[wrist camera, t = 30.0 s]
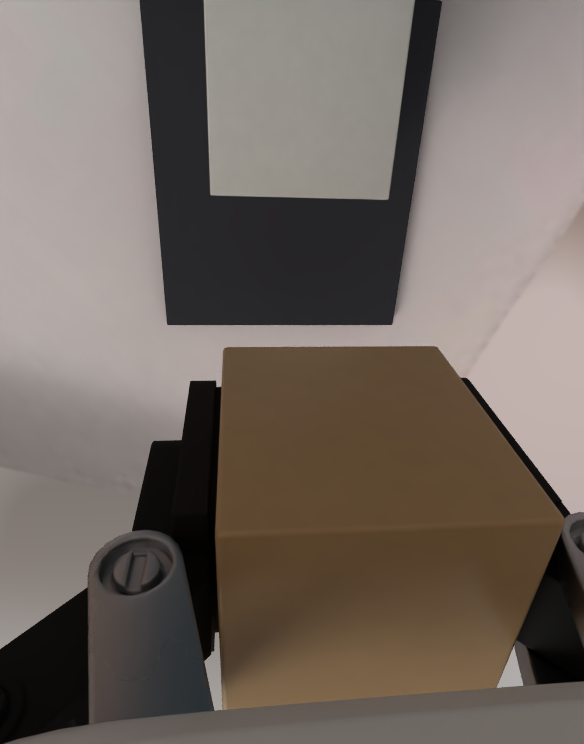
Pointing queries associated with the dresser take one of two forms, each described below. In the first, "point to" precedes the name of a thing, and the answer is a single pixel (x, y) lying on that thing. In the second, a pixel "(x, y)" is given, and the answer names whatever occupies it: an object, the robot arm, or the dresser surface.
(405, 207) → the mat
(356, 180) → the cream box
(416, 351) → the kraft box
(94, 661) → the robot arm
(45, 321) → the dresser surface
